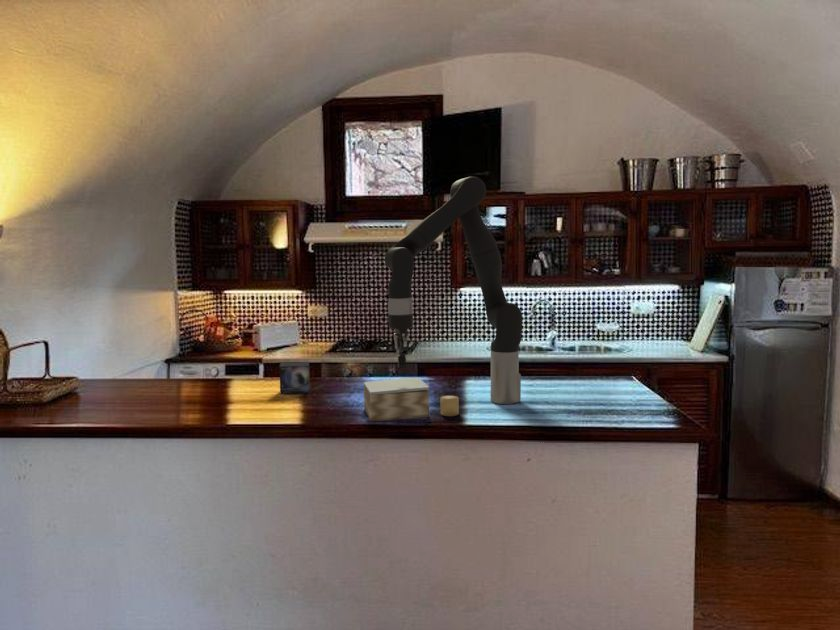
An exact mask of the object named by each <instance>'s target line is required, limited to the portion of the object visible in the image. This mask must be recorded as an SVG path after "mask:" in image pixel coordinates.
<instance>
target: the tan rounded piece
mask: <svg viewBox="0 0 840 630" xmlns="http://www.w3.org/2000/svg"><path fill="white" fill-rule="evenodd" d="M459 399H460V398H459V397H458V396H457V395H442V396H440V415H441V416H445V417H455V416H458V415H459V410H460V408H459V404H460V403H459V401H460V400H459Z"/></svg>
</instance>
